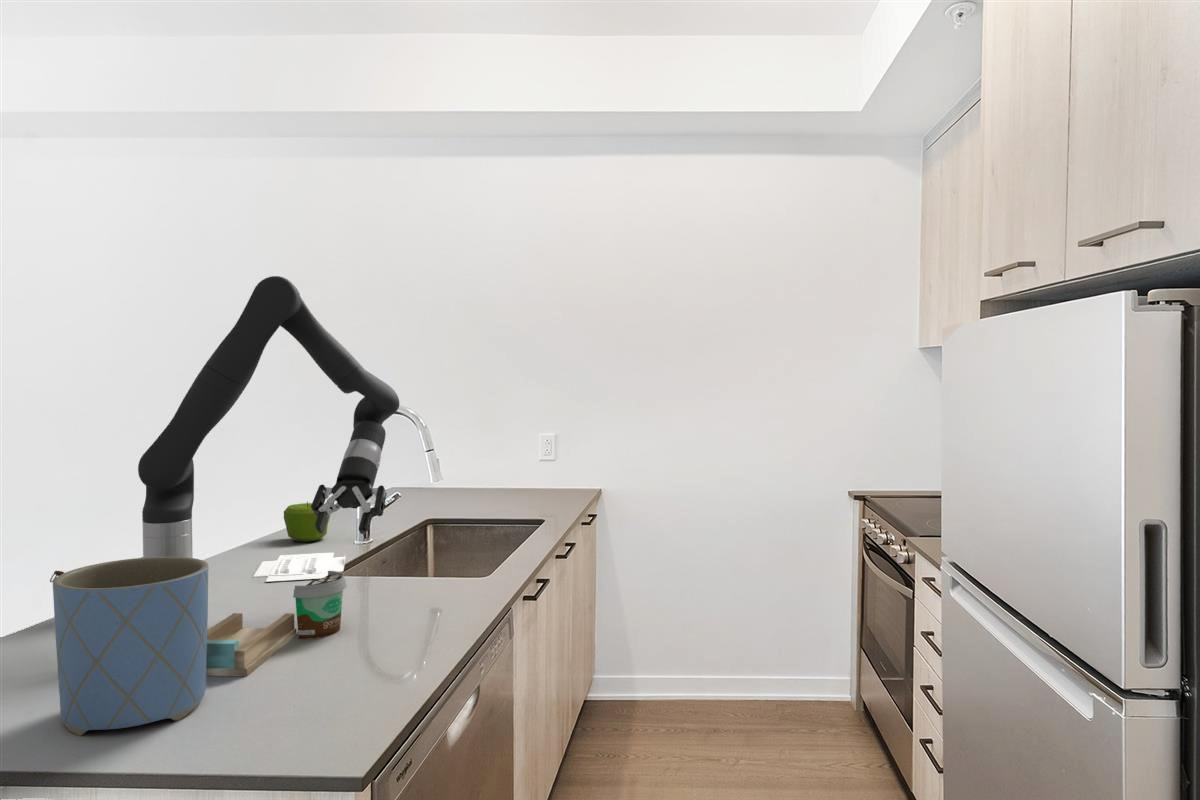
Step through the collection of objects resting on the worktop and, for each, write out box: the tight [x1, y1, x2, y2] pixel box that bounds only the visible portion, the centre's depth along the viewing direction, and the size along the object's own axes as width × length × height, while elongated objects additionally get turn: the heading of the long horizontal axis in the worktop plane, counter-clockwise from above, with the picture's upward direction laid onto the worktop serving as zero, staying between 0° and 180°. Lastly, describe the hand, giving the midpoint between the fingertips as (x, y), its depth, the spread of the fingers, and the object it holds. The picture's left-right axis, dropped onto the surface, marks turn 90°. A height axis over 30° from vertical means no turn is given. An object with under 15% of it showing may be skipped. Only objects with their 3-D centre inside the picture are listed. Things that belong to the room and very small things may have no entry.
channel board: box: [206, 612, 298, 677], centre depth 137 cm, size 12×20×5 cm, turn 179°
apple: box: [283, 501, 332, 543], centre depth 231 cm, size 12×12×11 cm
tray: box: [252, 552, 347, 583], centre depth 199 cm, size 20×28×4 cm
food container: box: [292, 571, 348, 640], centre depth 148 cm, size 12×6×10 cm, turn 168°
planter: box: [52, 557, 209, 736], centre depth 114 cm, size 19×19×20 cm
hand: (340, 531), depth 159 cm, fingers open, 8 cm apart
